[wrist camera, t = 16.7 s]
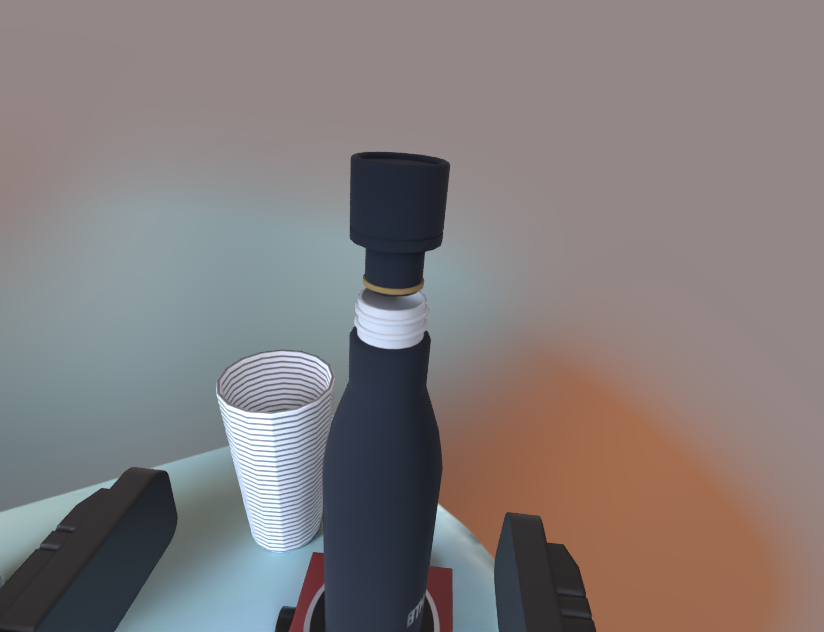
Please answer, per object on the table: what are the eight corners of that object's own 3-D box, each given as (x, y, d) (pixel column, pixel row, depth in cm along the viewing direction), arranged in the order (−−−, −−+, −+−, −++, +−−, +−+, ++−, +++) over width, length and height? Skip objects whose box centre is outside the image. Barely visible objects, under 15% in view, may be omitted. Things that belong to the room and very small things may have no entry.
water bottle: (334, 577, 33) (332, 143, 20) (421, 582, 33) (474, 155, 20) (316, 677, 28) (297, 162, 15) (421, 683, 28) (495, 177, 15)
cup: (334, 483, 45) (334, 347, 38) (336, 562, 37) (336, 410, 31) (244, 490, 43) (227, 350, 37) (227, 574, 36) (202, 417, 29)
